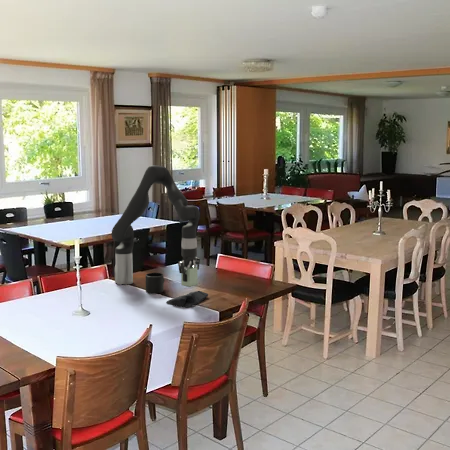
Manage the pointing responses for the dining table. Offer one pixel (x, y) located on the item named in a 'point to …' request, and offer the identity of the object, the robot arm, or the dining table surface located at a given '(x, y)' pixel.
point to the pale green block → (190, 277)
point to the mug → (154, 282)
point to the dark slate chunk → (188, 299)
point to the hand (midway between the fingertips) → (189, 280)
